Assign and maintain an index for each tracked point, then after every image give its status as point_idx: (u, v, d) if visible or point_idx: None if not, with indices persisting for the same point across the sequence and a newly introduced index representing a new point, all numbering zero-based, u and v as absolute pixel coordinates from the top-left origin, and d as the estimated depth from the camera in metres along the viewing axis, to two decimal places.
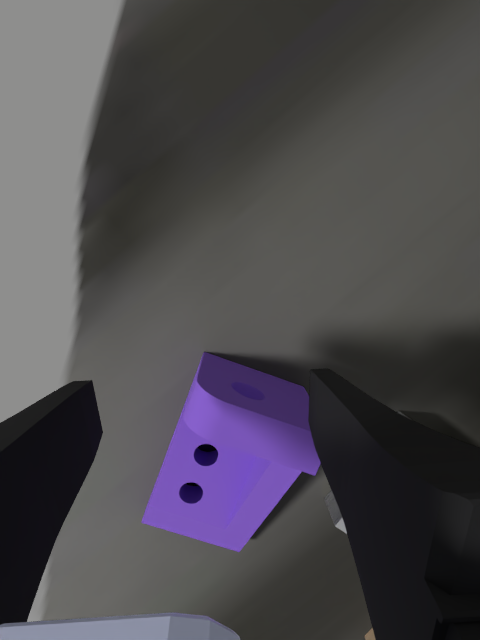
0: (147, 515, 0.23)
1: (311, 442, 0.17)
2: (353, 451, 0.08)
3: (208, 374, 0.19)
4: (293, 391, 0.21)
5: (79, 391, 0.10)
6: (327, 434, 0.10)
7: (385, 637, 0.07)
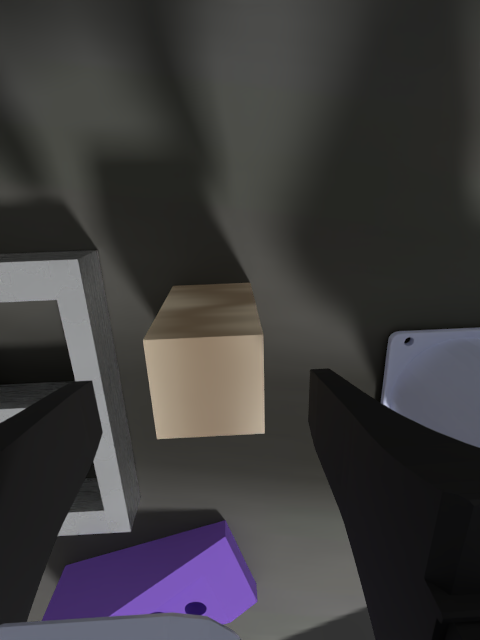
0: (243, 609, 0.25)
1: None
2: (353, 451, 0.08)
3: None
4: None
5: (79, 391, 0.10)
6: (327, 434, 0.10)
7: (386, 637, 0.07)
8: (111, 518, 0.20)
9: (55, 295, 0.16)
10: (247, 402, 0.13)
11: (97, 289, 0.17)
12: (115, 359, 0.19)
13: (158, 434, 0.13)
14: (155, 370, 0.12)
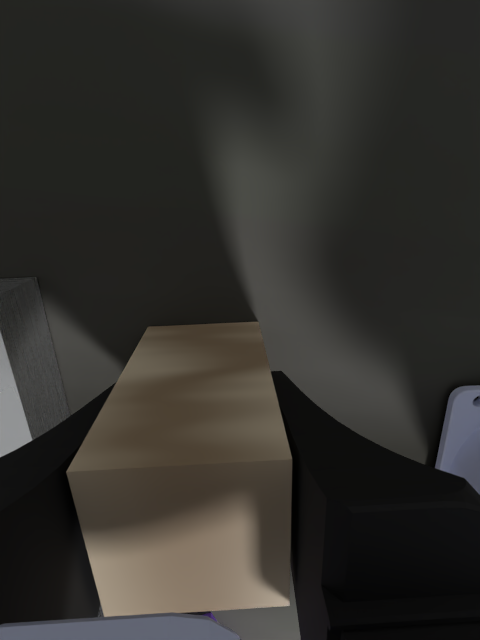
0: None
1: None
2: None
3: None
4: None
5: None
6: None
7: None
8: None
9: None
10: (260, 563, 0.07)
11: (35, 335, 0.12)
12: None
13: (106, 611, 0.08)
14: (93, 519, 0.07)
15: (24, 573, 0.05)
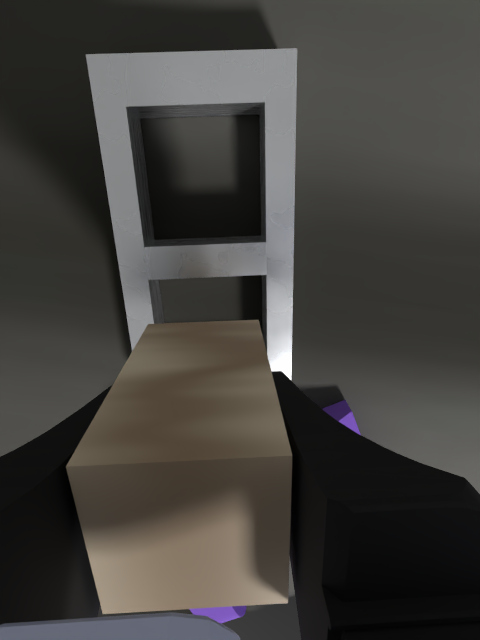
0: None
1: None
2: None
3: None
4: None
5: None
6: None
7: None
8: None
9: (264, 96, 0.14)
10: (259, 559, 0.07)
11: None
12: None
13: (104, 607, 0.08)
14: (93, 514, 0.07)
15: (23, 573, 0.05)
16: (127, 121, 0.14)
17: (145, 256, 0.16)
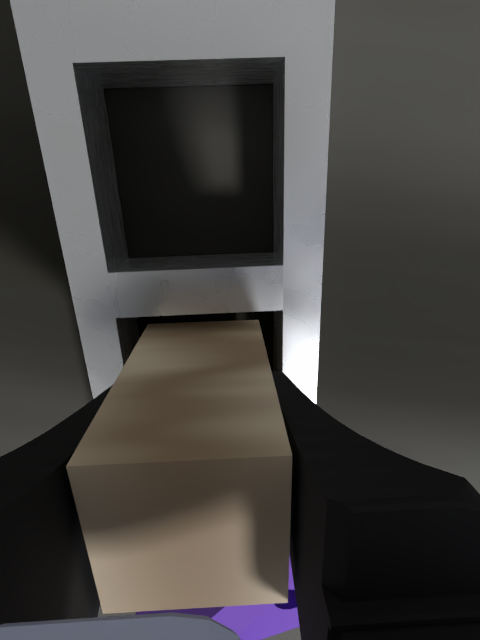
0: None
1: None
2: None
3: None
4: None
5: None
6: None
7: None
8: None
9: (284, 47, 0.09)
10: (259, 559, 0.07)
11: None
12: None
13: (104, 607, 0.08)
14: (93, 514, 0.07)
15: (23, 573, 0.05)
16: (75, 86, 0.09)
17: (110, 285, 0.11)
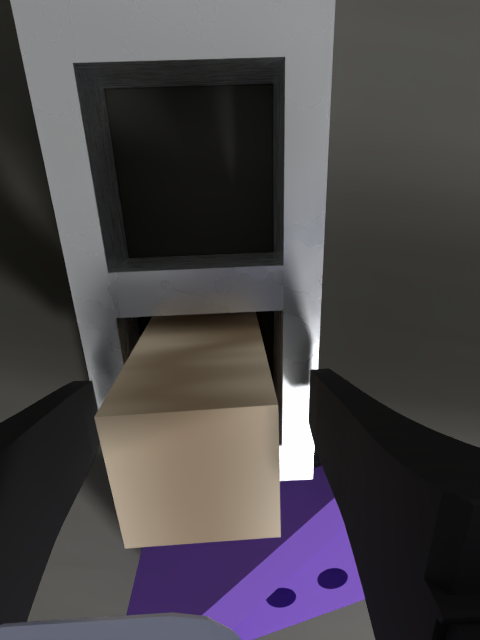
0: None
1: None
2: (353, 451, 0.08)
3: None
4: None
5: (79, 391, 0.10)
6: (327, 433, 0.10)
7: (386, 637, 0.07)
8: (289, 458, 0.14)
9: (284, 47, 0.09)
10: (255, 498, 0.09)
11: None
12: None
13: (126, 542, 0.09)
14: (116, 458, 0.08)
15: None
16: (76, 86, 0.09)
17: (111, 285, 0.11)
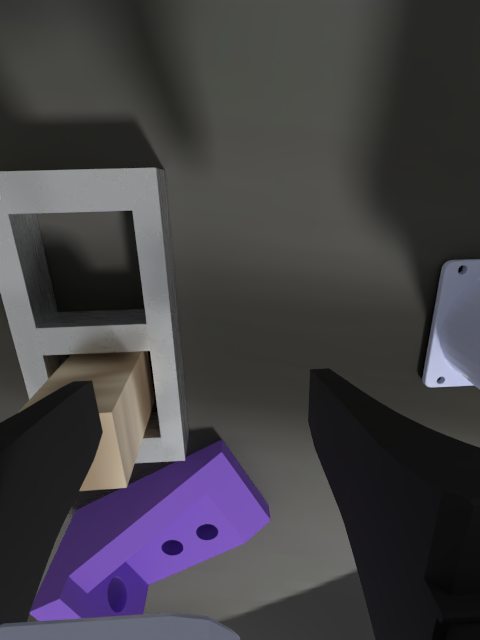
0: (257, 528, 0.24)
1: (46, 616, 0.19)
2: (353, 451, 0.08)
3: None
4: None
5: (79, 391, 0.10)
6: (327, 434, 0.10)
7: (385, 636, 0.07)
8: (167, 446, 0.21)
9: (131, 205, 0.16)
10: (107, 464, 0.15)
11: (165, 208, 0.17)
12: (174, 286, 0.20)
13: None
14: None
15: None
16: (10, 225, 0.16)
17: (38, 335, 0.18)
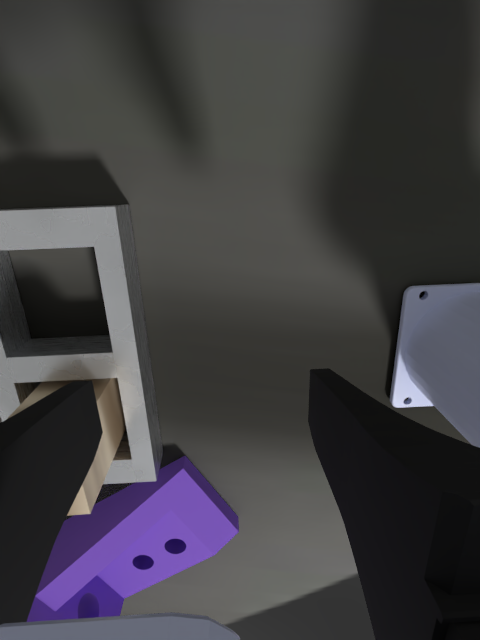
0: (225, 541, 0.25)
1: None
2: (353, 451, 0.08)
3: None
4: None
5: (79, 391, 0.10)
6: (327, 434, 0.10)
7: (386, 637, 0.07)
8: (138, 467, 0.21)
9: (92, 242, 0.17)
10: None
11: (129, 241, 0.18)
12: (143, 313, 0.20)
13: None
14: None
15: None
16: None
17: (9, 364, 0.19)
